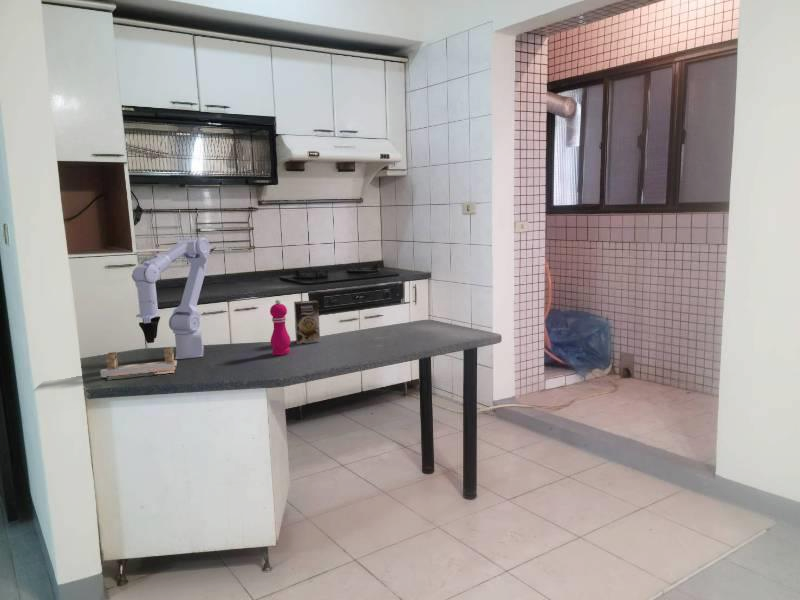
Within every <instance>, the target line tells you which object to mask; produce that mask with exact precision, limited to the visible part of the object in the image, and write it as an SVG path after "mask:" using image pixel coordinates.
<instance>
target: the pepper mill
mask: <svg viewBox="0 0 800 600" xmlns="http://www.w3.org/2000/svg"><path fill="white" fill-rule="evenodd" d="M274 302H275V303H274V304H273V305H272V306H271V307H270V310H269V313H270V316H272V317H271V322H272V323H273V331H272V334H271V337H270V346H271V347H272V348H273V349H272V355H273V356H275V355H283V356H286V355H285V354H288V353H290V354H291V348H290V345H291V342H292V340H291V337H290V335H289V333H288V330H287V328H286V321H287V317H286V315H287V314H288V309H287V307H286V305H285V304H283V303H281V300H280V299H276V300H275V301H274ZM288 355H289V354H288Z"/></svg>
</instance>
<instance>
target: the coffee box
mask: <svg viewBox="0 0 800 600" xmlns="http://www.w3.org/2000/svg"><path fill="white" fill-rule="evenodd" d="M293 306H294V307H293V308H294V327H295V328H294V329H295V342H296V341H297V342H296V344H297V345H303V344H302V343H305V344H314V343H315V342H316V343H321V333H320V332H321V331H320V312H319V311H320V310H319V301H318V300H303V301H302V300H301V301H298V300H297V301H293Z"/></svg>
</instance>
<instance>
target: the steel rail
mask: <svg viewBox="0 0 800 600" xmlns="http://www.w3.org/2000/svg"><path fill="white" fill-rule="evenodd" d="M174 369H175V370H176V367H175V366H174V362H171V363H161V364H151V365H141V366H131V367H121V368H111V369H107V368H103V369H101V370H100V378H101V377H103V378H108V377H107V376H118V375H129V374H138V373H149V372H161V371H171V370H174Z"/></svg>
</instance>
